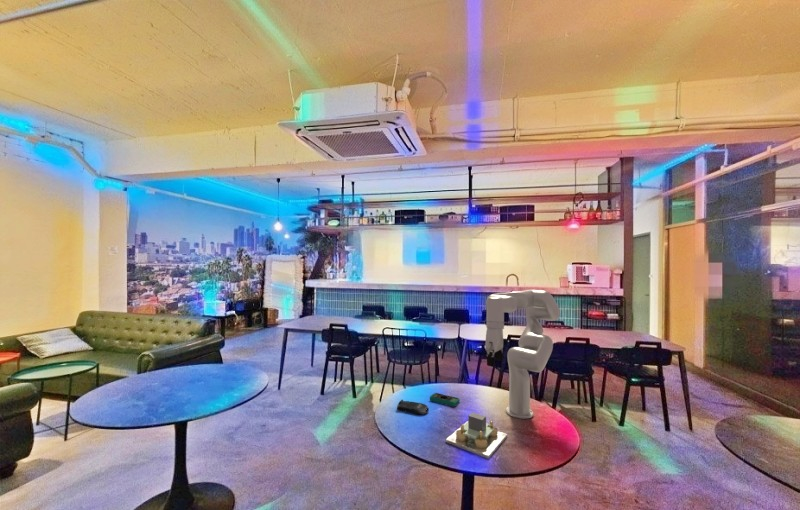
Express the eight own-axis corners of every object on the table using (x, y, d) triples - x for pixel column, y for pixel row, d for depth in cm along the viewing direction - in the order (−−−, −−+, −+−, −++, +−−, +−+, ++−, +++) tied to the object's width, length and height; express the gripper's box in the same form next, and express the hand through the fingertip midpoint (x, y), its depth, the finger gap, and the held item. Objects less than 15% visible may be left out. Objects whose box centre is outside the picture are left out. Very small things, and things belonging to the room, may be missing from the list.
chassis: (467, 423, 148) (467, 408, 148) (507, 436, 137) (507, 420, 138) (445, 442, 132) (445, 425, 132) (488, 458, 121) (488, 440, 122)
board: (471, 420, 144) (471, 406, 144) (496, 427, 137) (496, 413, 137) (457, 432, 133) (457, 418, 133) (483, 442, 126) (483, 426, 126)
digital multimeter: (434, 397, 179) (434, 391, 179) (460, 403, 172) (460, 397, 172) (428, 401, 173) (428, 396, 173) (455, 408, 165) (455, 402, 165)
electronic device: (396, 415, 159) (426, 416, 154) (395, 403, 160) (425, 403, 156) (402, 410, 168) (431, 410, 163) (401, 398, 169) (429, 398, 164)
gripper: (494, 321, 155) (494, 357, 155) (479, 326, 141) (478, 366, 141) (510, 323, 151) (509, 360, 150) (496, 328, 137) (495, 370, 136)
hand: (494, 363), depth 146 cm, fingers open, 9 cm apart
